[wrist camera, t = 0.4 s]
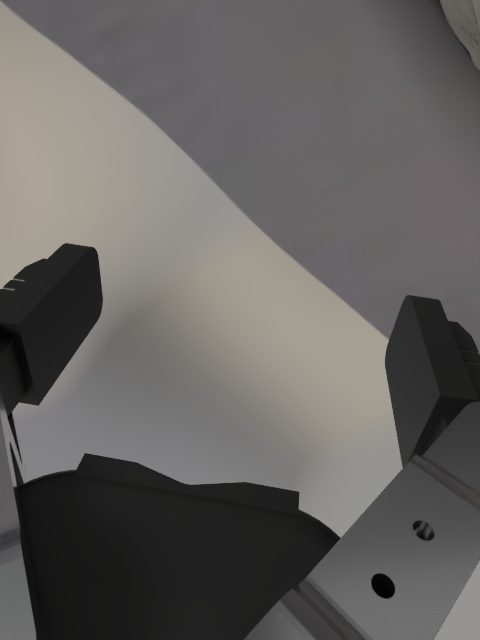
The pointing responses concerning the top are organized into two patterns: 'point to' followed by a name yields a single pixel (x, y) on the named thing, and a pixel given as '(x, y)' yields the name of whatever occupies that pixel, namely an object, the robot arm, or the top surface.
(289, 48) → the top surface
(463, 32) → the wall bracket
